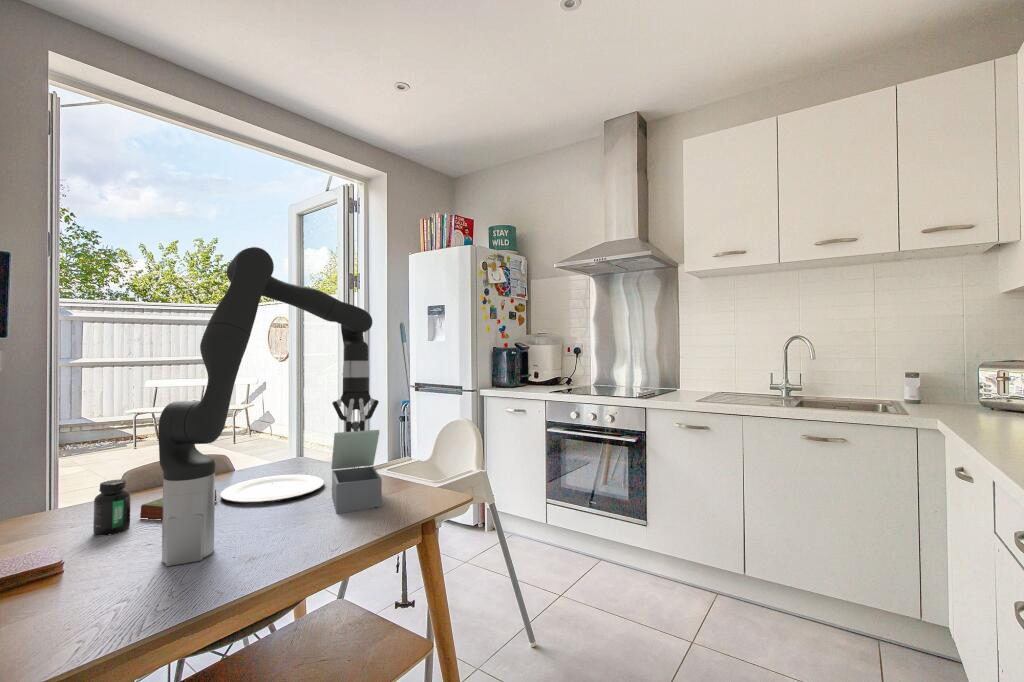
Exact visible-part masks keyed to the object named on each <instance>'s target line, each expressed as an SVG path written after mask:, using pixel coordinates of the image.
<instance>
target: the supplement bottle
mask: <svg viewBox="0 0 1024 682" xmlns="http://www.w3.org/2000/svg"><path fill="white" fill-rule="evenodd" d="M126 484H127V483H126V479H122V478H121V479H112V480H106V481H103V482H100V483H99V491H98V492H100V493H99V494H98V495H97V496H95V497H94V500H93V526H92V527H93V531H92V533H93V535H94V536H97V535H98V537H100V536H99V535H106V536H110V535H109V534H112V535H116V534H115V533H117V534H119V532H120V533H123V532H125V531H127V530H128V529H129V528H130V526H131V501H132V500H131V492H130V491H128V490H126V488H127V485H126ZM126 529H127V530H126ZM124 530H125V531H124ZM122 531H123V532H122Z"/></svg>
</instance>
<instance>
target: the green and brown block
mask: <svg viewBox="0 0 1024 682" xmlns="http://www.w3.org/2000/svg"><path fill="white" fill-rule="evenodd" d="M215 501H216V502H217V489H216V488H215ZM139 516H140V517H139V519H140V518H148V519H161V520H163V497H162V498H160V499H159V498H158V499H155V500H152V501H149V502H147V503H143V504H141V507H140V515H139Z"/></svg>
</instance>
